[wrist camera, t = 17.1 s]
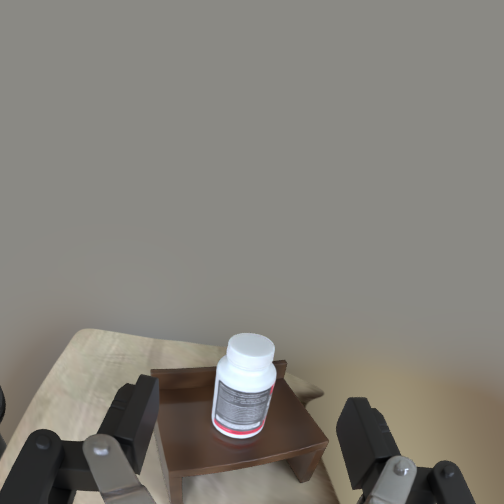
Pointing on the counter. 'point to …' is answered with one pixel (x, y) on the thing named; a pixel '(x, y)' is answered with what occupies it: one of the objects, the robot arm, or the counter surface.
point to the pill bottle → (244, 385)
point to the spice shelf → (220, 445)
